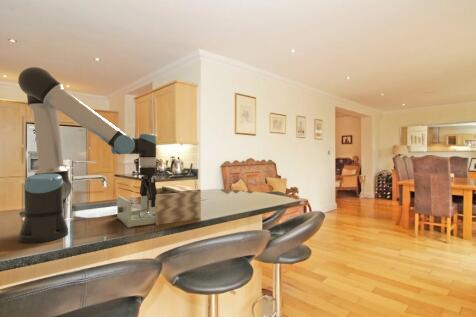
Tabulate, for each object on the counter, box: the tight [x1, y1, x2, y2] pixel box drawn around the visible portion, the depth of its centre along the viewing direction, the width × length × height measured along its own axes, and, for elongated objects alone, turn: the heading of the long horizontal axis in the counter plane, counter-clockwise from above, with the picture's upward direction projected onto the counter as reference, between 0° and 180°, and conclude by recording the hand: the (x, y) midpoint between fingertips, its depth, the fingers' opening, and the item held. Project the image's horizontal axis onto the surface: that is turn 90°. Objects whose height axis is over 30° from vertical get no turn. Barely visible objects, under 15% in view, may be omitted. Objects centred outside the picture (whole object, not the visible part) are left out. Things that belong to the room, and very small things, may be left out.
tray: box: [116, 194, 156, 228], centre depth 128 cm, size 23×23×11 cm
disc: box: [139, 211, 156, 219], centre depth 129 cm, size 8×8×2 cm
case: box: [146, 184, 202, 226], centre depth 135 cm, size 21×25×14 cm
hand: (148, 211), depth 129 cm, fingers open, 13 cm apart
